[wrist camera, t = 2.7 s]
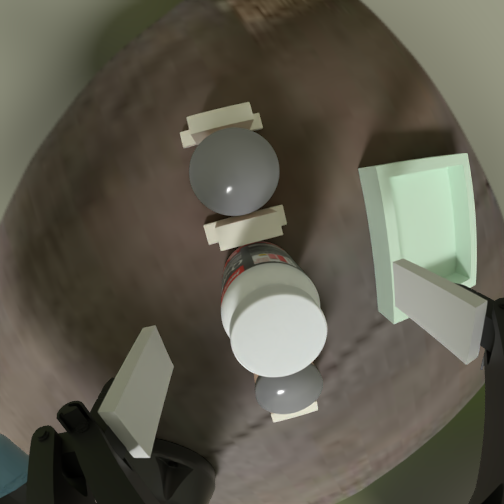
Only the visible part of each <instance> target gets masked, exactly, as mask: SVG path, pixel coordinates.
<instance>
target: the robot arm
mask: <svg viewBox="0 0 504 504" xmlns="http://www.w3.org/2000/svg"><path fill="white" fill-rule="evenodd" d="M393 275H394V291H395V306H396V307H397V308H398V309H399V310H401V311H402V312H403V313H405V314H406V315H407V316H408V317H410V318H411V319H412V320H413V321H415V322H416V323H417V324H418V325H419V326H421V327H422V328H423V329H424V330H426V331H427V332H428V333H429V334H430V335H432V336H433V337H434V338H435V339H436V340H438V341H439V342H440V343H441V344H442V345H444V346H445V347H446V348H447V349H448V350H450V351H451V352H452V353H453V354H454V355H455V356H457V357H458V358H459V359H460V360H461V361H462V362H464V363H465V364H466V365H467V364H468V363H470V362H471V361H473V360H474V359H476V358H477V357H478V354H479V349H480V345H481V346H482V347H483V348H485V353H484V357H483V361H482V365H481V369H480V370H483V366H485V424H484V437H483V447H482V454H481V461H480V468H479V474H478V480H477V484H476V488H475V491H474V493H473V495H472V497H471V499H470V501H469V504H504V298H499V299H497V300H495V301H494V300H492V299H490V298H488V297H486V296H484V295H482V294H481V293H479V292H476V291H475V290H473V289H472V290H471V288H469V287H467V286H465V285H462V284H458V283H453V282H451V281H449V280H447V279H445V278H443V277H441V276H439V275H437V274H435V273H433V272H431V271H429V270H427V269H425V268H423V267H421V266H418V265H416V264H414V263H412V262H410V261H408V260H406V259H404V258H403V259H400V260H397V261H394V262H393ZM173 368H174V366H173V364H172V362H171V359H170V357H169V355H168V353H167V351H166V348H165V346H164V344H163V342H162V339H161V337H160V335H159V332H158V330H157V328H156V325H155V326H150V327H145V328H143V329H142V330H141V332H140V334H139V336H138V337H137V339H136V341H135V343H134V345H133V346H132V348H131V350H130V352H129V353H128V355H127V357H126V359H125V361H124V363H123V364H122V366H121V368H120V370H119V372H118V374H117V376H116V377H115V378H111V379H110V380H109V381H108V382H107V383H106V384H105V386H104V387H103V389H102V391H101V393H100V395H99V396H98V399H97V400H96V402H95V404H94V406H93V408H92V410H91V411H90V413H89V411H88V410H87V408H86V407H85V406H84V404H83V403H82V402H80V401H72V402H70V403H67V404H66V405H64V406H63V407H62V408H61V409H60V410H59V411H58V413H57V419H58V421H59V422H60V423H61V425H62V426H63V427H64V428H65V430H66V431H67V432H64V433H59V434H58V433H57V432H56V431H55V430H54V428H53V427H52V426H43V427H40V428H38V429H37V430H36V431H35V433H34V434H33V436H32V439H31V446H30V454H29V455H27V454H26V453H25V452H24V451H22V450H21V449H20V448H19V447H18V446H16V445H15V444H14V443H13V442H12V441H11V440H10V439H8V438H7V437H6V436H4V435H2V434H0V504H209V501H210V499H211V497H212V495H213V492H214V490H215V471H214V469H213V467H212V466H211V465H210V463H209V462H208V461H207V460H205V459H204V458H203V457H201V456H200V455H198V454H197V453H195V452H193V451H191V450H189V449H187V448H184V447H182V446H179V445H177V444H174V443H171V442H167V441H164V440H159V439H155V436H156V432H157V428H158V424H159V420H160V416H161V412H162V408H163V404H164V401H165V397H166V393H167V390H168V386H169V382H170V379H171V375H172V371H173ZM95 500H96V502H97V503H96V502H95Z"/></svg>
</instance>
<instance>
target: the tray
mask: <svg viewBox="0 0 504 504" xmlns="http://www.w3.org/2000/svg"><path fill="white" fill-rule="evenodd" d="M358 171H359V175H360V180H361V185H362V190H363V195H364V201H365V206H366V212H367V218H368V224H369V230H370V237H371V244H372V252H373V260H374V269H375V278H376V289H377V302H378V311H379V312H380V313H381V314H383V315H384V316H385V317H386V318H387V319H388V320H390V321H391V322H392V323H393V324H396V323H398V322H400V321H403V320H405V319H407V318H410V317H408V316H407V315H406V314H405V313H403V312H402V311H401V310H399V309H398V308H397V307H396V306H395V291H394V275H393V262H394V261H397V260H400V259H403V258H404V259H406V260H408V261H410V262H412V263H414V264H416V265H418V266H421V267H423V268H425V269H427V270H429V271H431V272H433V273H435V274H437V275H439V276H441V277H443V278H445V279H447V280H449V281H451V282H453V283H458V284H462V285H465V286H467V287H469V288H471V287H472V286H474V285H476V264H477V241H476V218H475V205H474V195H473V187H472V179H471V172H470V166H469V160H468V155H467V153H462V154H449V155H441V156H433V157H425V158H418V159H411V160H405V161H398V162H392V163H386V164H380V165H374V166H368V167H363V168H358Z"/></svg>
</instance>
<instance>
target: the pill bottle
mask: <svg viewBox="0 0 504 504" xmlns="http://www.w3.org/2000/svg"><path fill="white" fill-rule="evenodd" d="M221 318H222V323H223V326H224V329H225V331H226V333H227V335H228V336H229V338H230V340H231V347H232V350H233V353H234V355H235V357H236V359H237V360H238V361H239V363H240V364H241V365H242V366H243V367H245V368H246V369H247V370H249V371H250V372H252V373H255V374H257V375H260V376H265V377H283V376H287V375H291V374H294V373H296V372H298V371H300V370H302V369H304V368H305V367H307V366H308V365H309V364H310V363H311V362H313V361H314V360H315V359H316V357H317V356H318V355H319V353H320V352H321V350H322V348H323V346H324V344H325V341H326V337H327V323H326V319H325V316H324V314H323V312H322V310H321V309H320V299H319V295H318V292H317V290H316V288H315V286H314V284H313V283H312V281H311V280H310V279H309V277H308V276H307V275H306V274H305V273H304V272H303V270H302V269H301V268H300V267H299V266H298V265H297V264H296V263H295V262H294V260H293V259H292V258H291V257H290V256H289V255H288V254H287V253H286V252H285V251H284V250H283V249H282V248H280V247H279V246H277V245H275V244H272V243H269V242H263V241H257V242H254V243H250V244H246V245H243V246H241V247H239V248H238V249H237V250H235V251H234V252H233V253H232V254H231V255H230V257H229V258H228V260H227V262H226V264H225V266H224V269H223V274H222V295H221Z"/></svg>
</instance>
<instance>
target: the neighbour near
mask: <svg viewBox="0 0 504 504" xmlns="http://www.w3.org/2000/svg"><path fill="white" fill-rule="evenodd" d="M189 178H190V183H191V186H192V189H193V191H194V193H195V195H196V196H197V198H198V199H199V200H200V201H201V202H202V203H203V204H204V205H205V206H206V207H208V208H209V209H211V210H212V211H214V212H217V213H220V214H223V215H228V216H240V215H245V214H248V213H251V212H253V211H255V210H257V209H259V208H260V207H262V206H263V205H264V204H265V203H266V202H267V201H268V200H269V199H270V198H271V196H272V195H273V193H274V191H275V189H276V187H277V184H278V180H279V163H278V159H277V156H276V153H275V151H274V149H273V148H272V146H271V145H270V144H269V143H268V142H267V140H265V139H264V138H263V137H262V136H260V135H259V134H257V133H255V132H253V131H251V130H248V129H244V128H236V127H233V128H225V129H221V130H218V131H216V132H214V133H212V134H210V135H209V136H207V137H206V138H205V139H204V140H202V142H201V143H200V144H199V145H198V146H197V148H196V149H195V151H194V153H193V155H192V158H191V161H190V166H189Z"/></svg>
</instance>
